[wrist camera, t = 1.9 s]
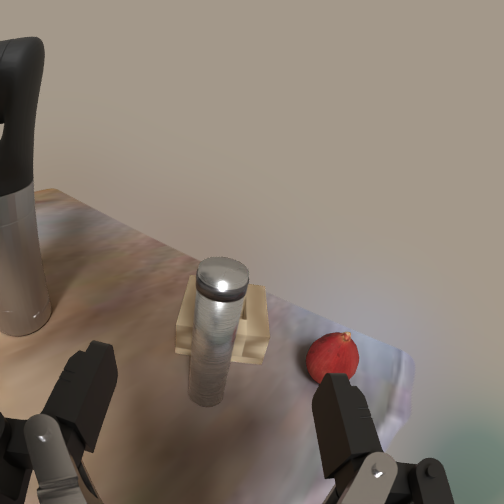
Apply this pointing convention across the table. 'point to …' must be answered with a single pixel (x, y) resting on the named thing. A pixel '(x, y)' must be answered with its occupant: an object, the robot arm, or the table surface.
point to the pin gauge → (215, 326)
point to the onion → (332, 356)
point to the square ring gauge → (249, 328)
